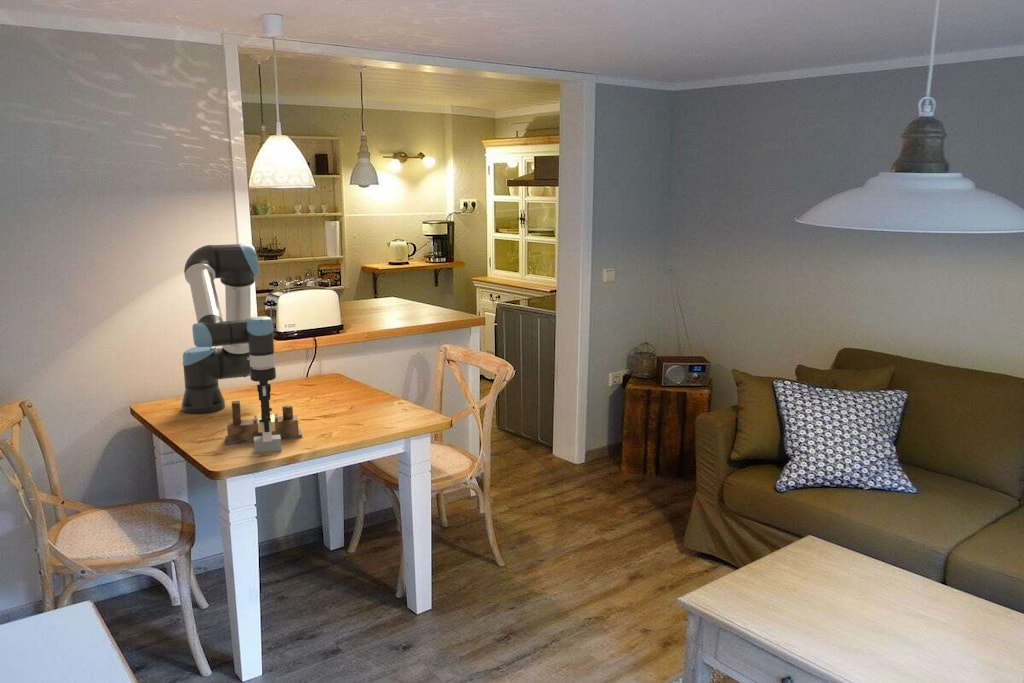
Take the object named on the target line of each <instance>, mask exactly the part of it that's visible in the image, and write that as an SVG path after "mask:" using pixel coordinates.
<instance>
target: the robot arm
mask: <svg viewBox="0 0 1024 683" xmlns="http://www.w3.org/2000/svg"><path fill="white" fill-rule="evenodd" d="M183 273H184V278H185V281H186V282H187V284H188V285H189V288H190V292H191V298H192V302H193V306H194V312H195V316H196V321H197V322H196V323H193V324H192V329H191V330H192V338H193V340H192V341H193V344H194V347H191V348H188V349H186V350H185V351H184V352H183V353H182V363H181V364H182V366H183V377H184V393H183V397H182V401H181V412H183V413H187V414H195V415H196V414H206V413H207V414H209V413H212V412H213V413H214V412H217V411H221V410H223V409H224V408H225V407H226V401H225V397H224V396H223V393H222V391H221V390H220V385H219V380H229V379H235V378H247V377H250V381H253V382H256V383H257V382H258V384H257V385H256V389H257V393H258V401H260V411H261V414H260V415H262V419H261V420H259V422H262V435H263V442H269V441H272V432H271V418H270V414H271V412H273V408H272V407H270V400H271V390H272V388H271V387H272V385H271V383H269V382H270V381H274V380H275V379H276V378H277V372H276V367H275V365H276V355H275V354H276V353H275V343H274V330H275V329H274V325H273V319H272V318H271V317H270V316H262V315H260V316H252V317H251V315H252V314H251V313H252V312H251V311H252V308H251V286H253V285H254V283H255V280H256V278H258V277H260V274H261V270H260V265H259V260H258V254H257V251H256V249H255V247H254V245H252V244H250V243H247V244H246V243H244V244H243V243H237V244H235V243H234V244H208V245H203V246H201V247H198V248H197V249H196V250H195V251H193V252H192V253H191V254H190V255H189V257H188V258H187V260H186V262H185V265H184V269H183ZM215 279H220V283H221V284H222V285H224V290H225V291H224V292H225V294H224V295H225V320H224V319H223V314H222V311H221V308H220V302H219V298H218V294H217V289H216V285H215V281H214V280H215ZM217 347H221V348H217ZM264 417H265V418H264ZM268 417H269V418H268Z"/></svg>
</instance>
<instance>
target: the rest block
mask: <svg viewBox="0 0 1024 683" xmlns="http://www.w3.org/2000/svg"><path fill="white" fill-rule="evenodd" d="M253 448H254V449H253V450H254V454H262V453H273V452H282V439H281V437H280V435H272V441H269V442H263V436H259V437H254V442H253Z"/></svg>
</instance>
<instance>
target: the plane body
mask: <svg viewBox="0 0 1024 683" xmlns="http://www.w3.org/2000/svg"><path fill="white" fill-rule="evenodd" d="M293 409H294V408H293V406H292V405H284V406H282V415H281V416H279V415H278V413H274V419H275V431H271V432H272V435H280V437H281V440H289V439H298V438H303V433H302V429H301V428H299V418H298V414H294V411H293ZM241 413H242V412H241V401H240V400H235V401H231V414H232V420H228V421H227V422H226V427H227V429H226V430H227V435H225V438H224V446H228V445H237V444H249V443H254V437H259V436H263V435H262V432H259V433H258V414H257V415H253V418H251V419H242V416H241V415H242V414H241Z"/></svg>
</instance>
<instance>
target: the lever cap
mask: <svg viewBox="0 0 1024 683" xmlns="http://www.w3.org/2000/svg"><path fill="white" fill-rule="evenodd" d="M274 417H275V413H270V418H271V431H275V419H274ZM264 418H265V417H264ZM268 418H269V417H268ZM257 419H258V433H259V432H262V422H259V420H261V419H262V415H261V414H257Z"/></svg>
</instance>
